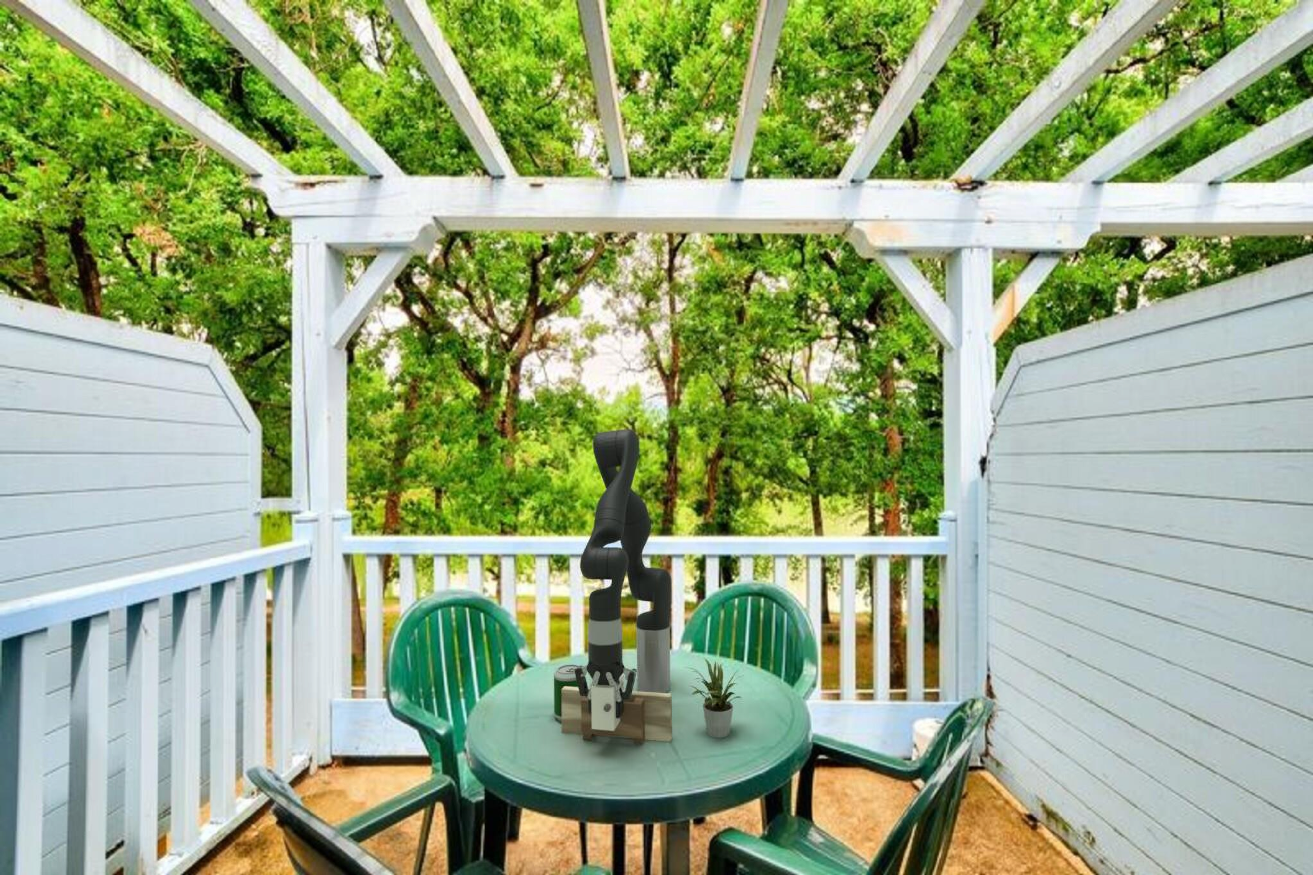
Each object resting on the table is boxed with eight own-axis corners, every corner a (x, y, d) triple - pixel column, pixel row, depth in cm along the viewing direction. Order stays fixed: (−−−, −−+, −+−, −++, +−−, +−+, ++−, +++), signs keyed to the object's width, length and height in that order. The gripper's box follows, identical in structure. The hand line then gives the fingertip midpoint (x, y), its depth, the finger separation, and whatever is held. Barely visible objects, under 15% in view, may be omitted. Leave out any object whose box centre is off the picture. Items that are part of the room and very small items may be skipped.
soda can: (579, 725, 144) (578, 675, 144) (549, 722, 145) (549, 673, 146) (588, 711, 151) (588, 664, 151) (560, 709, 153) (560, 662, 153)
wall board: (564, 728, 142) (564, 686, 142) (672, 737, 137) (671, 693, 137) (556, 739, 137) (556, 695, 137) (667, 749, 132) (667, 703, 132)
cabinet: (603, 712, 137) (602, 672, 138) (624, 714, 136) (623, 674, 136) (590, 730, 128) (590, 688, 128) (612, 732, 127) (612, 690, 127)
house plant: (674, 723, 144) (673, 655, 144) (724, 713, 149) (723, 647, 150) (701, 750, 131) (700, 675, 131) (755, 737, 136) (754, 665, 136)
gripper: (640, 634, 134) (641, 711, 133) (580, 631, 137) (580, 706, 136) (632, 645, 126) (633, 726, 126) (568, 641, 129) (569, 720, 129)
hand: (606, 715), depth 131 cm, fingers closed on cabinet, 5 cm apart
